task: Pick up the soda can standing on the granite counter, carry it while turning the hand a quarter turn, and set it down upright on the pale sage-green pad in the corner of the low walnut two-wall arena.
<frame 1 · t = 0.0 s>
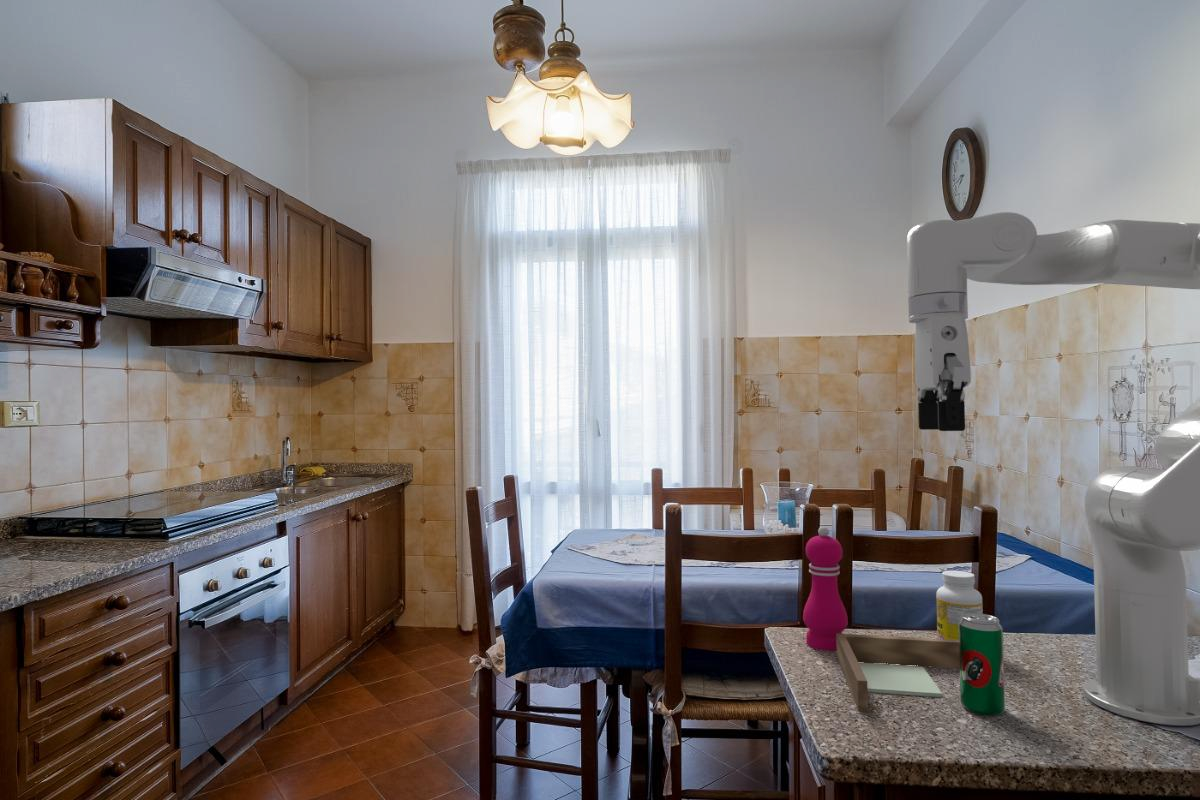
hand: (940, 430, 93), 37 cm above the kitchen counter, tool pointing down, fingers open, 9 cm apart
supplement bottle: (960, 653, 107), on the kitchen counter
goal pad: (895, 680, 96), on the kitchen counter
soda can: (982, 710, 87), on the kitchen counter
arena: (841, 660, 105), on the kitchen counter
pepper mill: (825, 645, 112), on the kitchen counter
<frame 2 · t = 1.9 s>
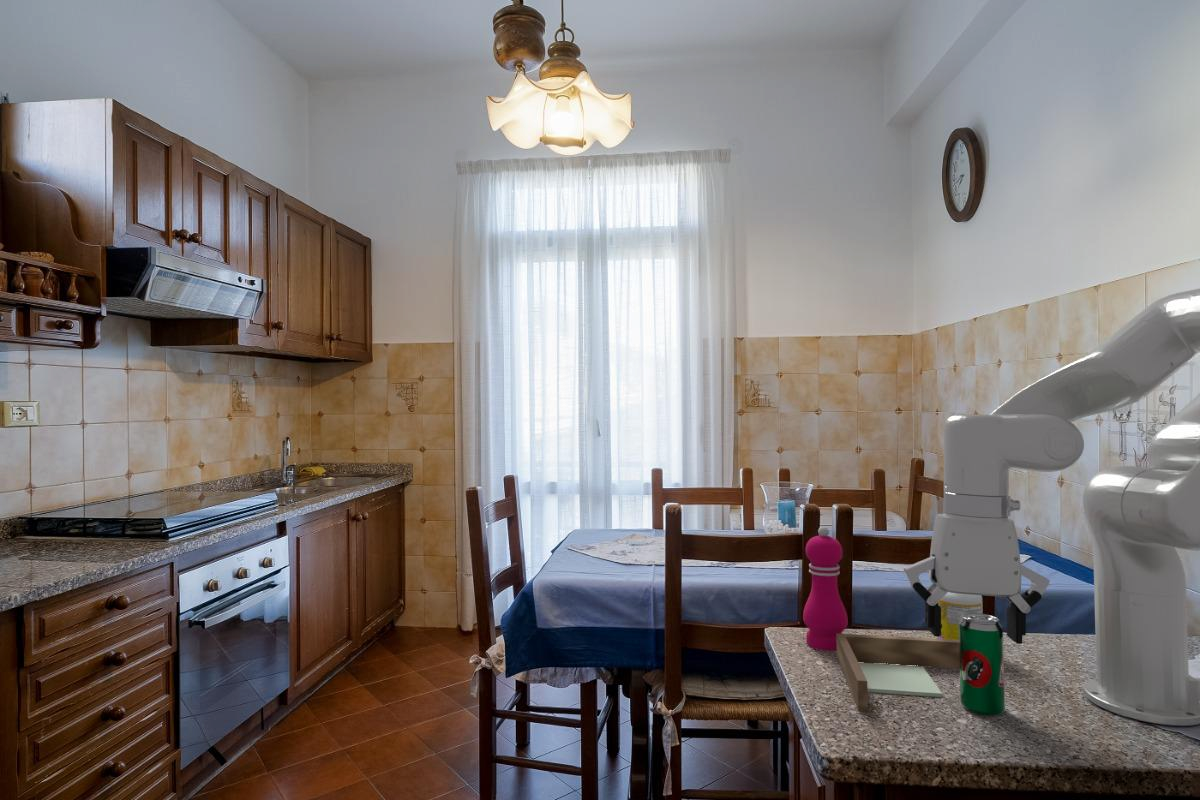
hand: (974, 636, 87), 9 cm above the kitchen counter, tool pointing down, fingers open, 9 cm apart
nothing on the kitchen counter moved.
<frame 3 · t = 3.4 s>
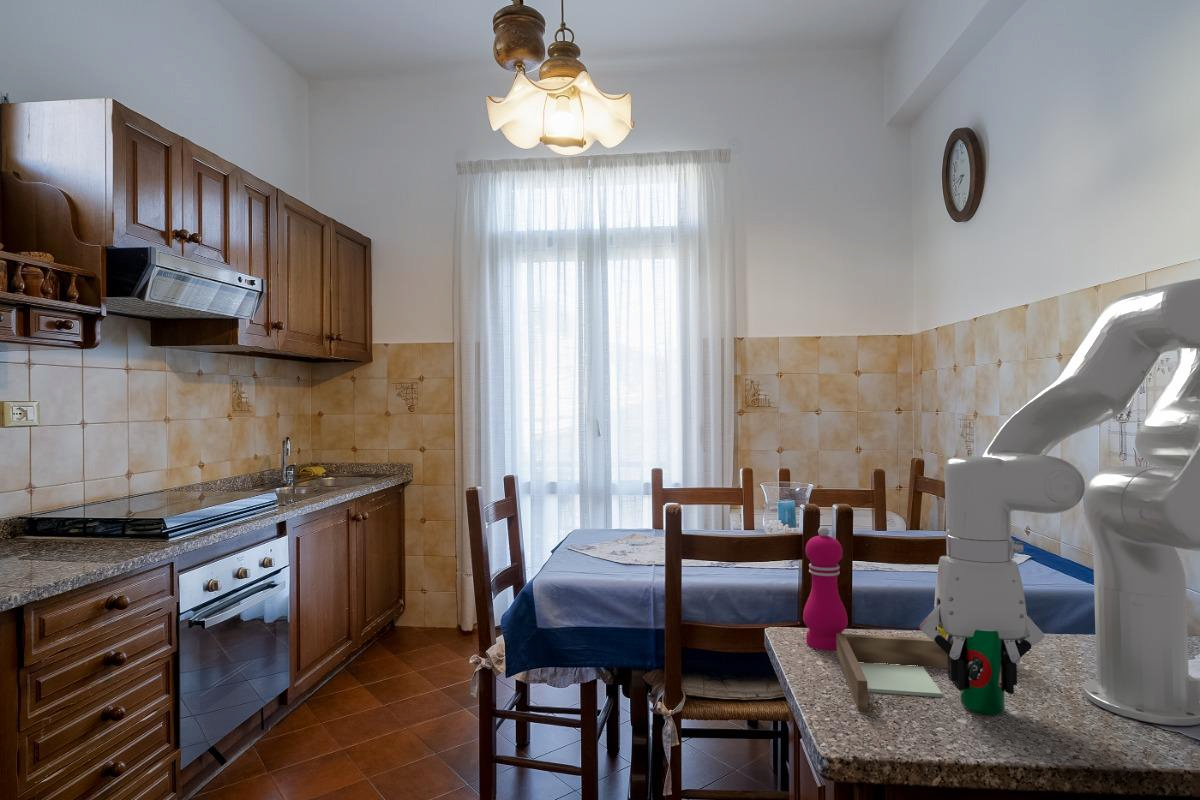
hand: (981, 686, 87), 3 cm above the kitchen counter, tool pointing down, fingers closed on soda can, 5 cm apart
soda can: (982, 710, 87), on the kitchen counter, touching gripper
everything else where it was.
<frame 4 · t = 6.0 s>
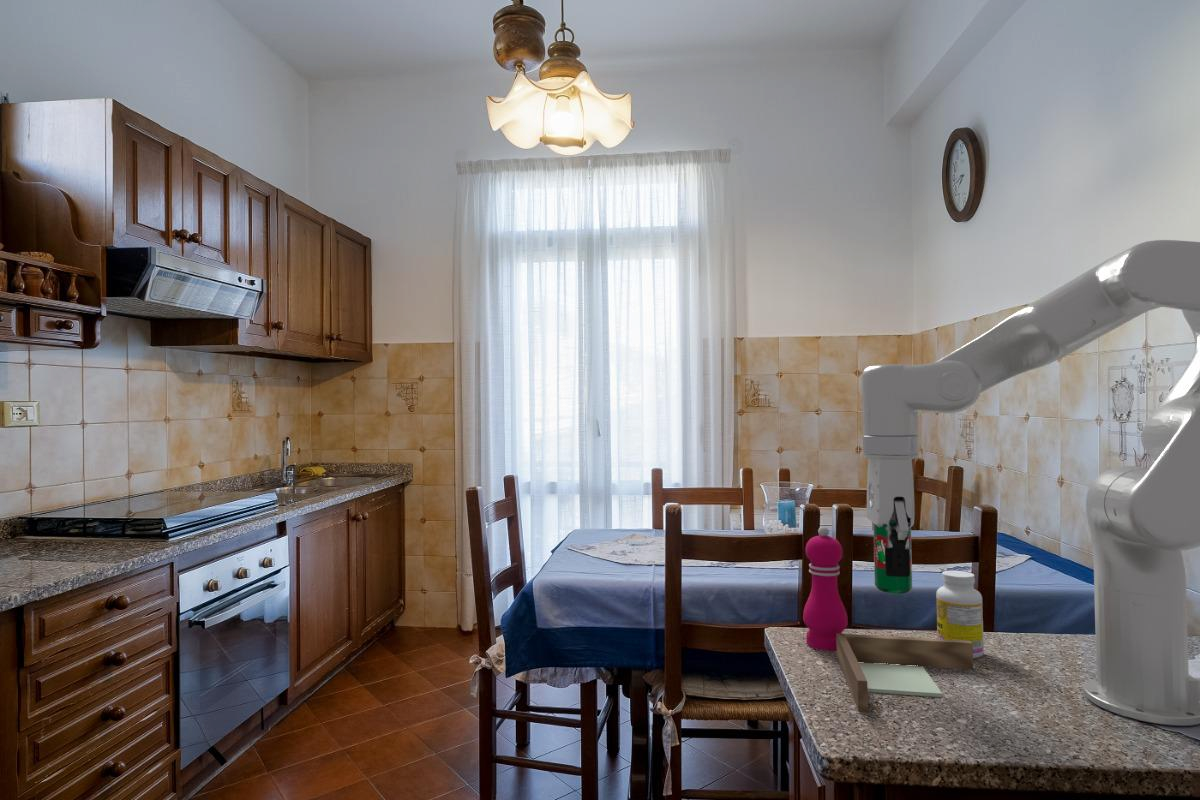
hand: (892, 570, 97), 16 cm above the kitchen counter, tool pointing down, fingers closed on soda can, 5 cm apart
soda can: (893, 591, 97), point 13 cm above the kitchen counter, touching gripper
everything else where it was.
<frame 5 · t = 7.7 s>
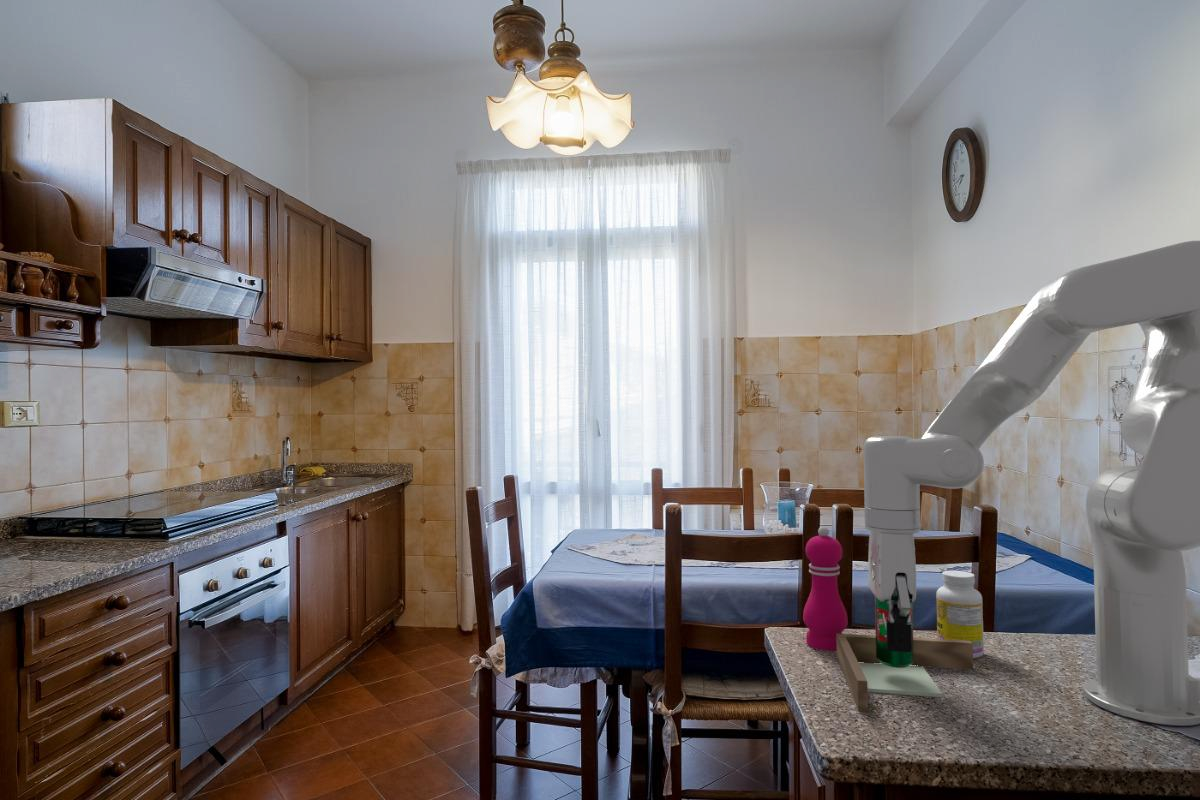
hand: (894, 642, 97), 6 cm above the kitchen counter, tool pointing down, fingers closed on soda can, 5 cm apart
soda can: (894, 664, 96), point 2 cm above the kitchen counter, touching gripper
everything else where it was.
when the fingers open (5 cm above the kitchen counter, at t = 8.7 s): soda can drops 1 cm, resting on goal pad.
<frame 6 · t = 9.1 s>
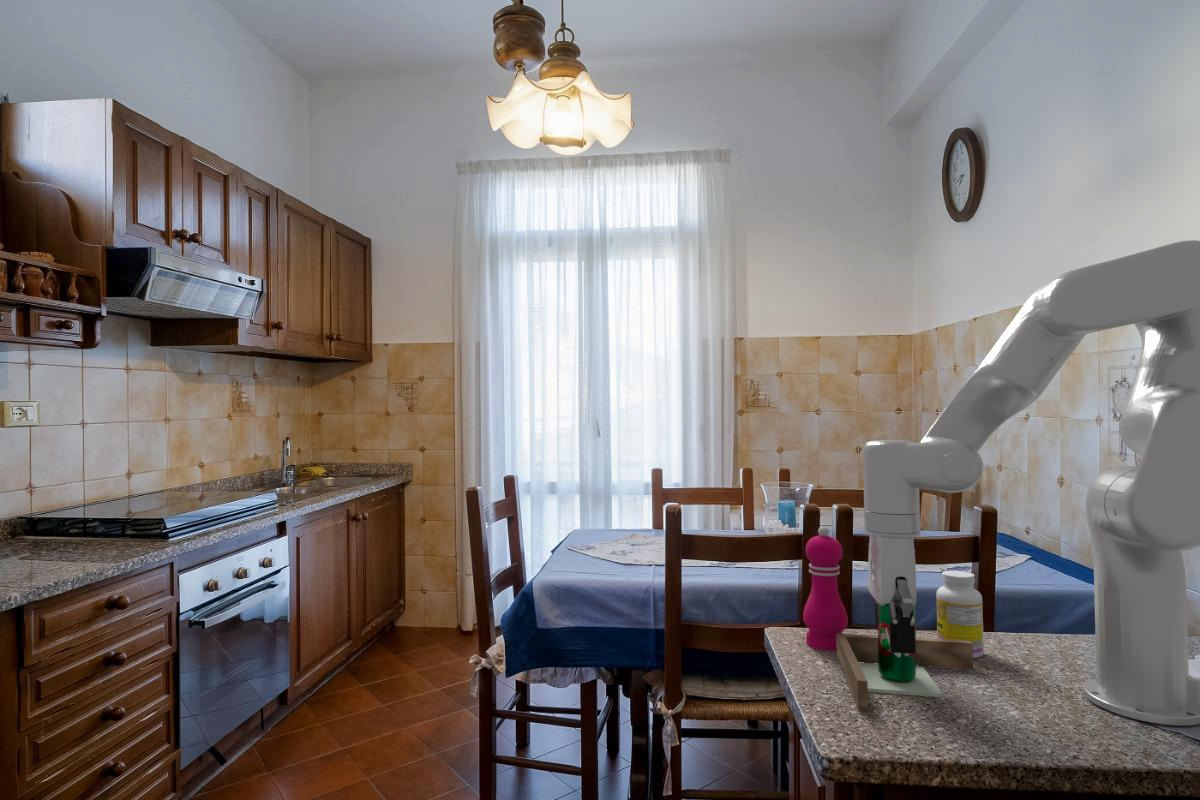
hand: (894, 640, 97), 6 cm above the kitchen counter, tool pointing down, fingers open, 9 cm apart
soda can: (896, 678, 96), resting on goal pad
everything else where it was.
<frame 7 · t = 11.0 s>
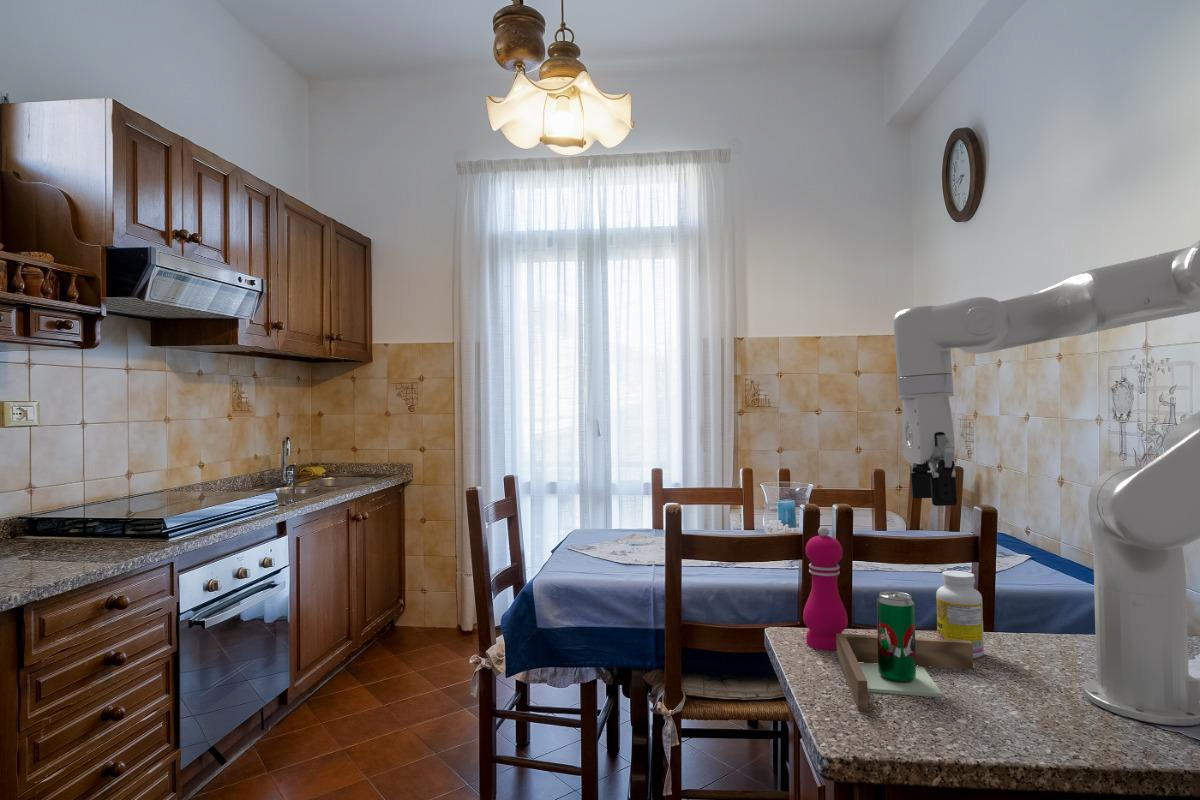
hand: (933, 501, 99), 26 cm above the kitchen counter, tool pointing down, fingers open, 9 cm apart
nothing on the kitchen counter moved.
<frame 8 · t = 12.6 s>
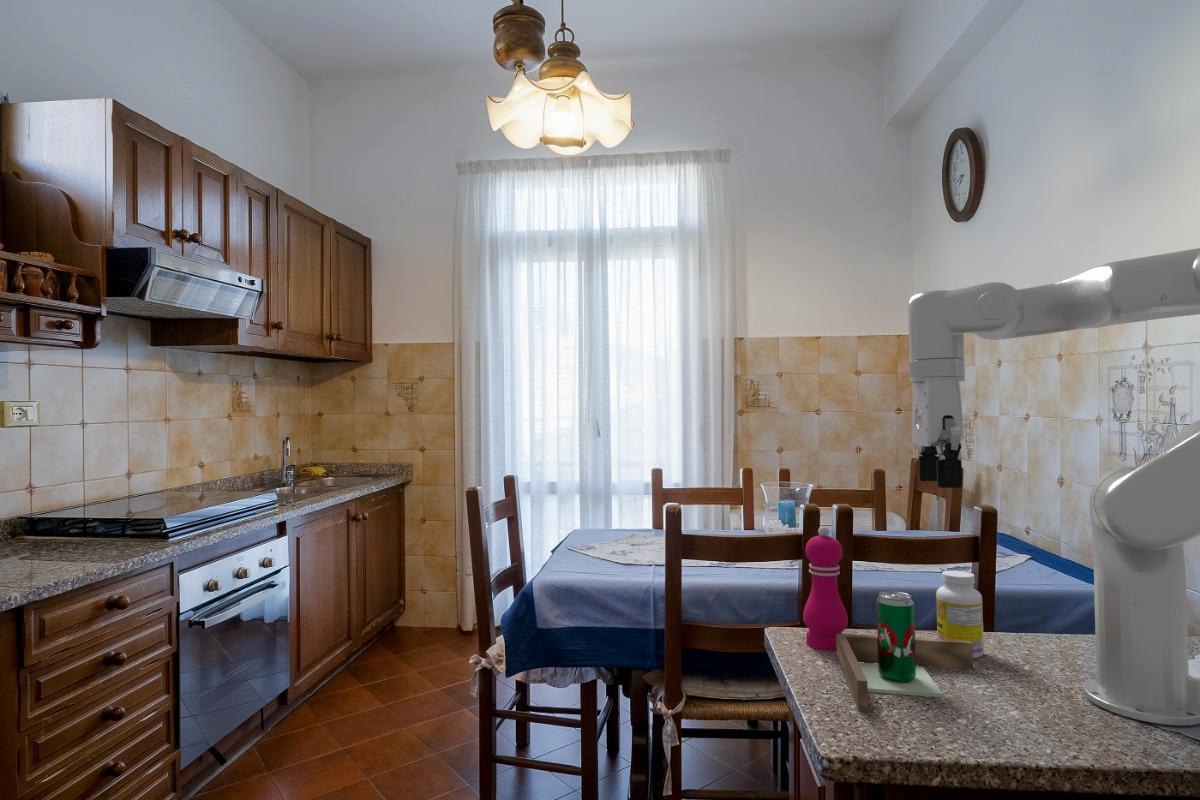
hand: (939, 484, 100), 28 cm above the kitchen counter, tool pointing down, fingers open, 9 cm apart
nothing on the kitchen counter moved.
at the end: soda can 0.2 cm from the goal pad (horizontally); soda can tilted 0°; the gripper is holding nothing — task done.
